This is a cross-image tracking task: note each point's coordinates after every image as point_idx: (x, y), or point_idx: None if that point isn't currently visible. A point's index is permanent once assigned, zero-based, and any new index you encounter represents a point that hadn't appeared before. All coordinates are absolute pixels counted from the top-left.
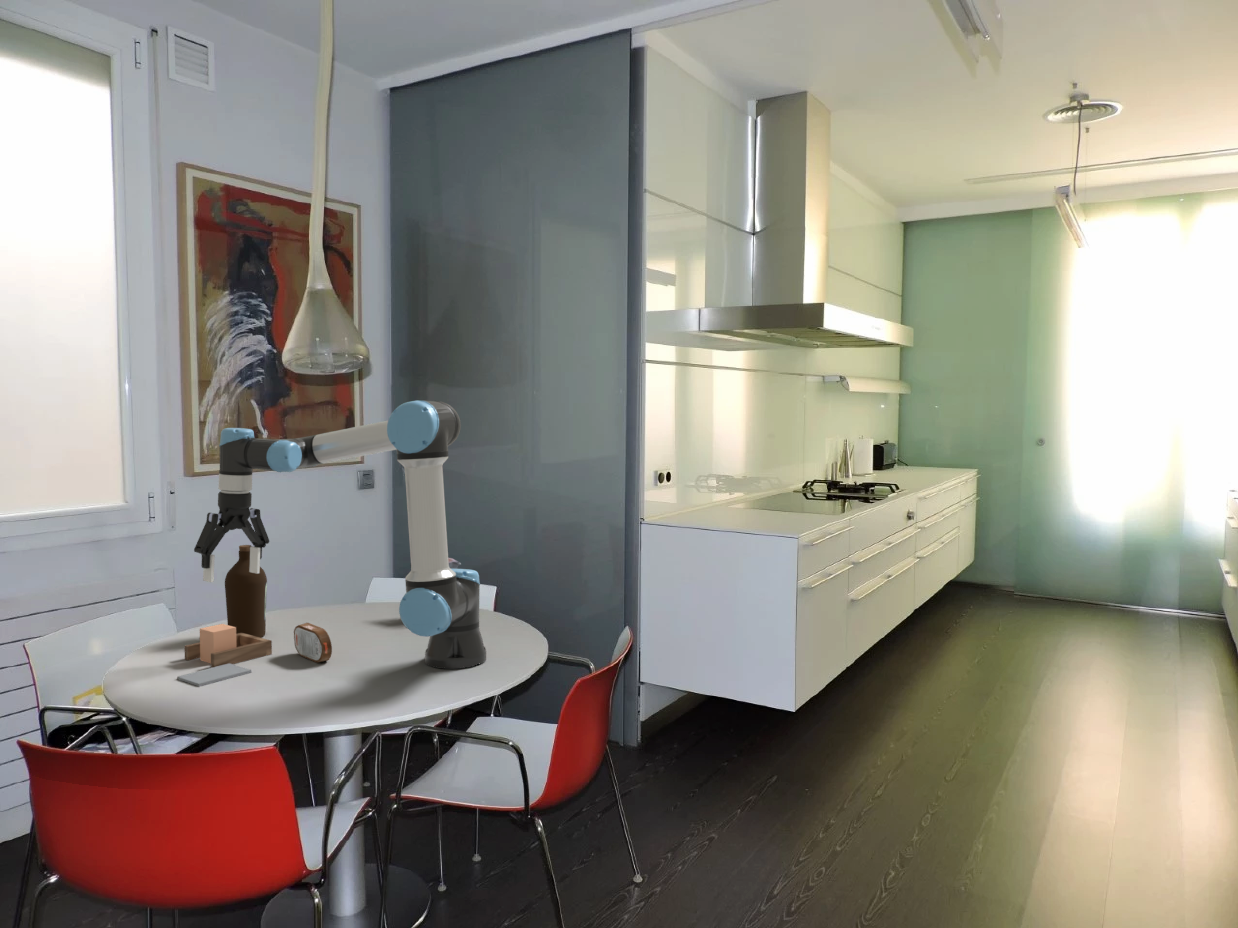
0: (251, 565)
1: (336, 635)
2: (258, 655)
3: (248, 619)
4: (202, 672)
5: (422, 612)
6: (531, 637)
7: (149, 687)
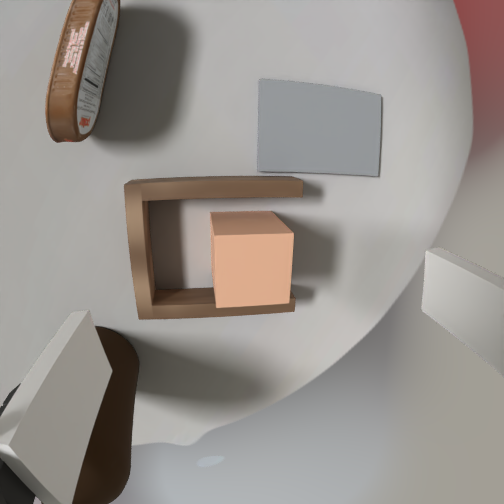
0: (94, 386)
1: None
2: (170, 178)
3: None
4: (336, 156)
5: None
6: None
7: (422, 173)
